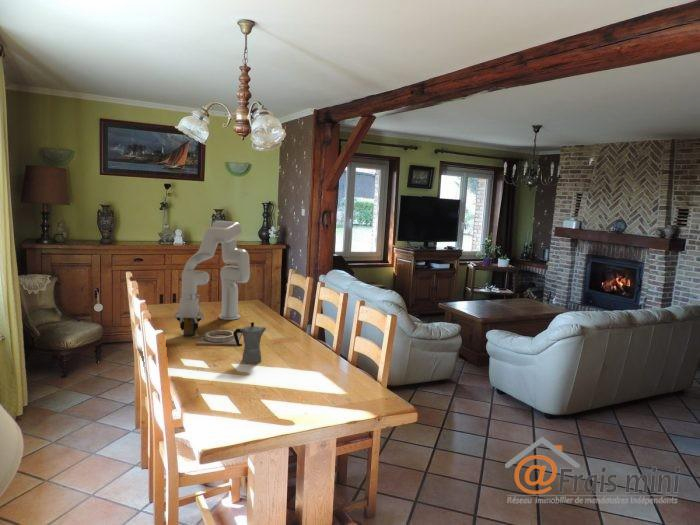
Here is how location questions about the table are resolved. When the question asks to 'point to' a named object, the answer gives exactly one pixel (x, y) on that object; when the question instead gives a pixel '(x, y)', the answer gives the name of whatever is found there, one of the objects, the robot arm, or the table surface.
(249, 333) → the coffeepot
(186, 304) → the robot arm
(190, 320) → the condiment
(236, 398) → the table surface
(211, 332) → the holder
